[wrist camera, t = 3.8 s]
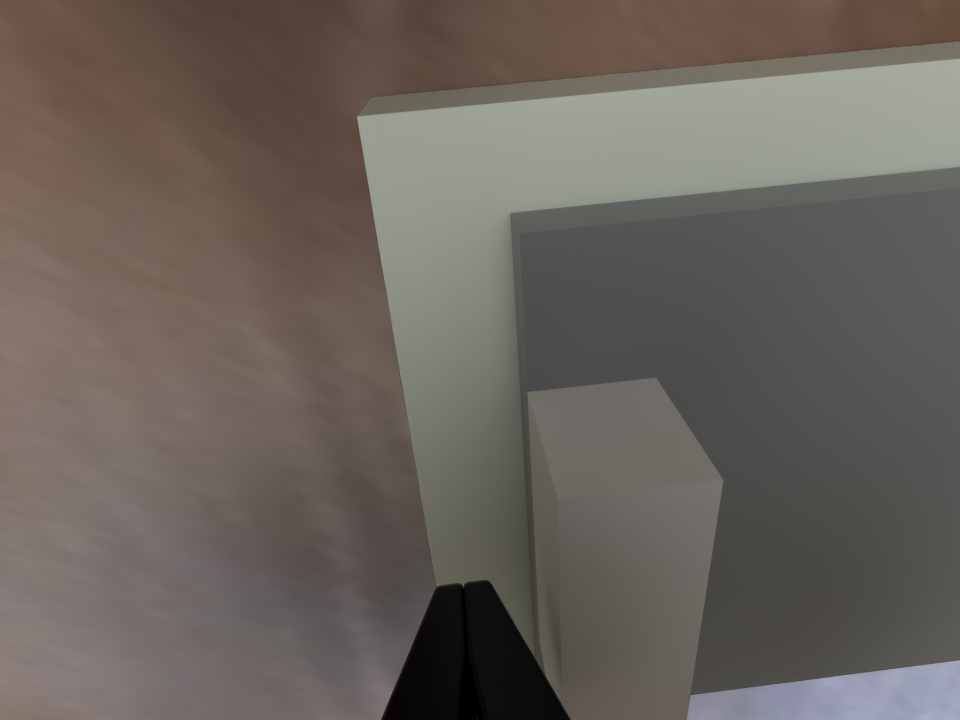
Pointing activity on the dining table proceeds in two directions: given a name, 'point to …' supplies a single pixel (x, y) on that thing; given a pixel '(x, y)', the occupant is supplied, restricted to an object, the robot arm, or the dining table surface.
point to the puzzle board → (577, 182)
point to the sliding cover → (740, 437)
